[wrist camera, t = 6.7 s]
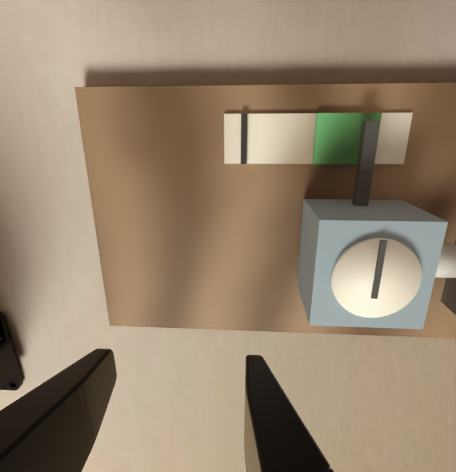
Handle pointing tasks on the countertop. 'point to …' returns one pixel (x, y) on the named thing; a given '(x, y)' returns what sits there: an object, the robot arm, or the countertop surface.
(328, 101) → the gauge board
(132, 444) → the countertop surface
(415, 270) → the force gauge
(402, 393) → the countertop surface
